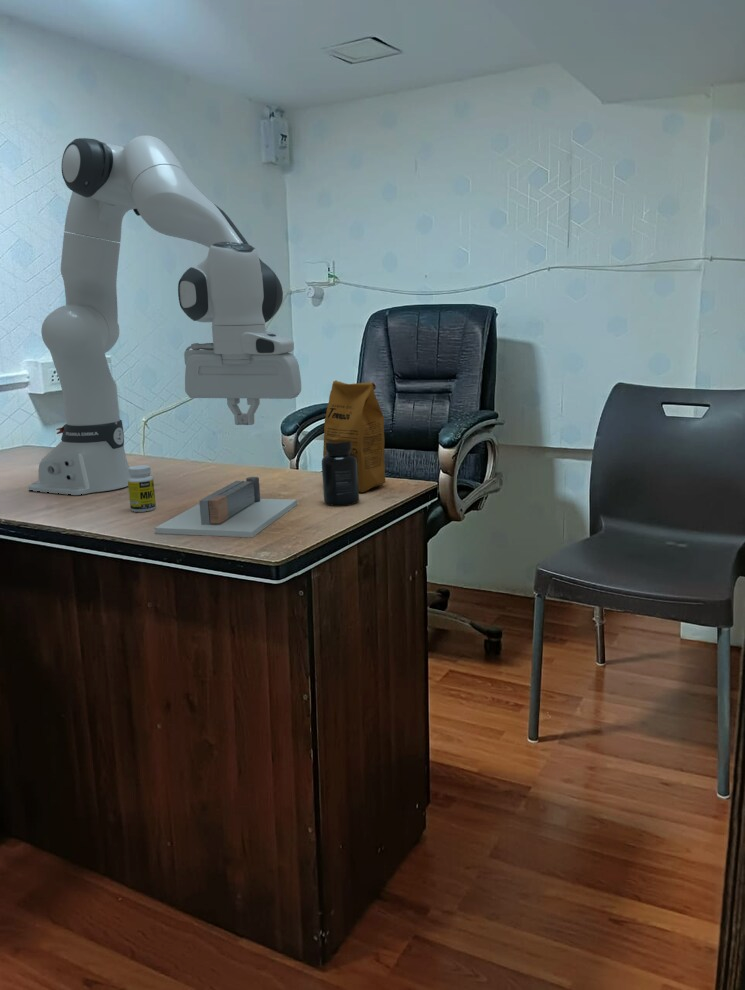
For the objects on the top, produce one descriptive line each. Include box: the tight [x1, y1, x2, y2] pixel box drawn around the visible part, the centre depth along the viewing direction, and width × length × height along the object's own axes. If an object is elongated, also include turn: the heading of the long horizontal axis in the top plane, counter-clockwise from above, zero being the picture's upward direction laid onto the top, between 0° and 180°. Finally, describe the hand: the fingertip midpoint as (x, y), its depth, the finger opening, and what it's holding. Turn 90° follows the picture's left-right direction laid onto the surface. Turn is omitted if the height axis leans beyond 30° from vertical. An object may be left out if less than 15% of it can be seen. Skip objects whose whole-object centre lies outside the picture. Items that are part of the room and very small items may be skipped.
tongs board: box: [154, 476, 298, 538], centre depth 146 cm, size 18×22×6 cm
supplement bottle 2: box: [321, 439, 360, 507], centre depth 154 cm, size 7×7×12 cm
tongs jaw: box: [209, 480, 255, 524], centre depth 145 cm, size 2×16×4 cm, turn 165°
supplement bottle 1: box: [127, 464, 157, 513], centre depth 154 cm, size 5×5×8 cm
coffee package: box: [322, 380, 386, 493], centre depth 165 cm, size 10×12×22 cm
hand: (244, 424), depth 138 cm, fingers closed
